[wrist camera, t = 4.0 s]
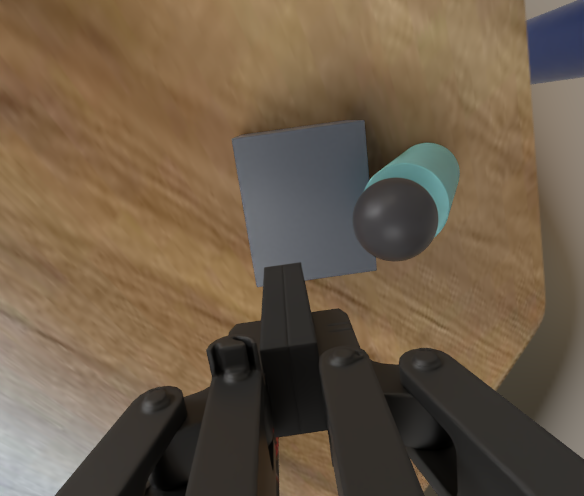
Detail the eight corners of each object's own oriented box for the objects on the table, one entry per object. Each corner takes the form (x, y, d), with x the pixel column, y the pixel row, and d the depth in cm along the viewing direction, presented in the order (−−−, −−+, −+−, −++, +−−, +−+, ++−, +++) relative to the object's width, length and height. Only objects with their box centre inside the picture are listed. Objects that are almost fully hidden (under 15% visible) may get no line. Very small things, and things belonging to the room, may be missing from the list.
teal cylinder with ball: (448, 138, 41) (579, 152, 23) (449, 199, 43) (573, 256, 25) (321, 155, 41) (356, 183, 23) (328, 216, 43) (365, 285, 25)
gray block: (345, 120, 41) (364, 120, 32) (356, 241, 44) (376, 270, 35) (240, 134, 41) (231, 138, 32) (260, 254, 44) (256, 287, 35)
